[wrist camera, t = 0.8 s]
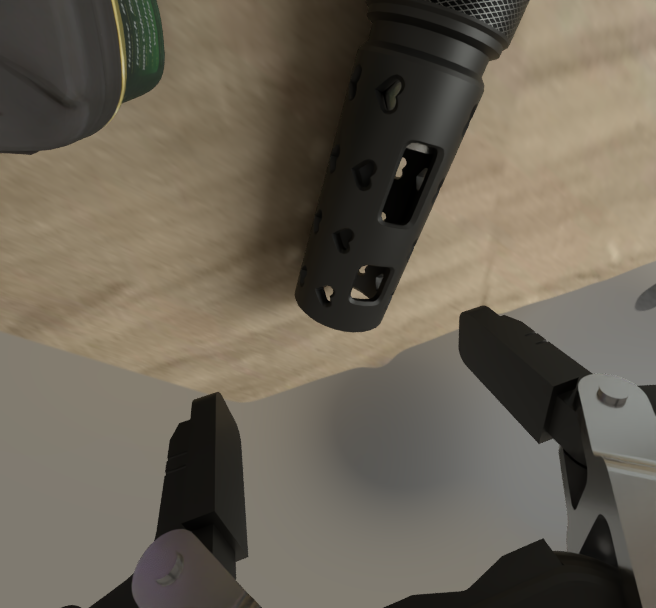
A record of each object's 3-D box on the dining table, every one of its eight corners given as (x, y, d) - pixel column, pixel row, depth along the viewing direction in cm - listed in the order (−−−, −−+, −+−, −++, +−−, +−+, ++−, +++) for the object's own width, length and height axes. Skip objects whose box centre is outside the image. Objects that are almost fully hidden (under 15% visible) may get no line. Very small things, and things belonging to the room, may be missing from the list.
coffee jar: (153, -53, 21) (40, -253, 6) (172, 99, 25) (132, 179, 11) (-54, -96, 18) (-1050, -610, 4) (11, 85, 22) (-319, 166, 8)
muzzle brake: (282, 270, 36) (303, 334, 29) (368, -112, 22) (463, -198, 14) (361, 277, 40) (400, 336, 32) (482, -46, 25) (609, -83, 17)
